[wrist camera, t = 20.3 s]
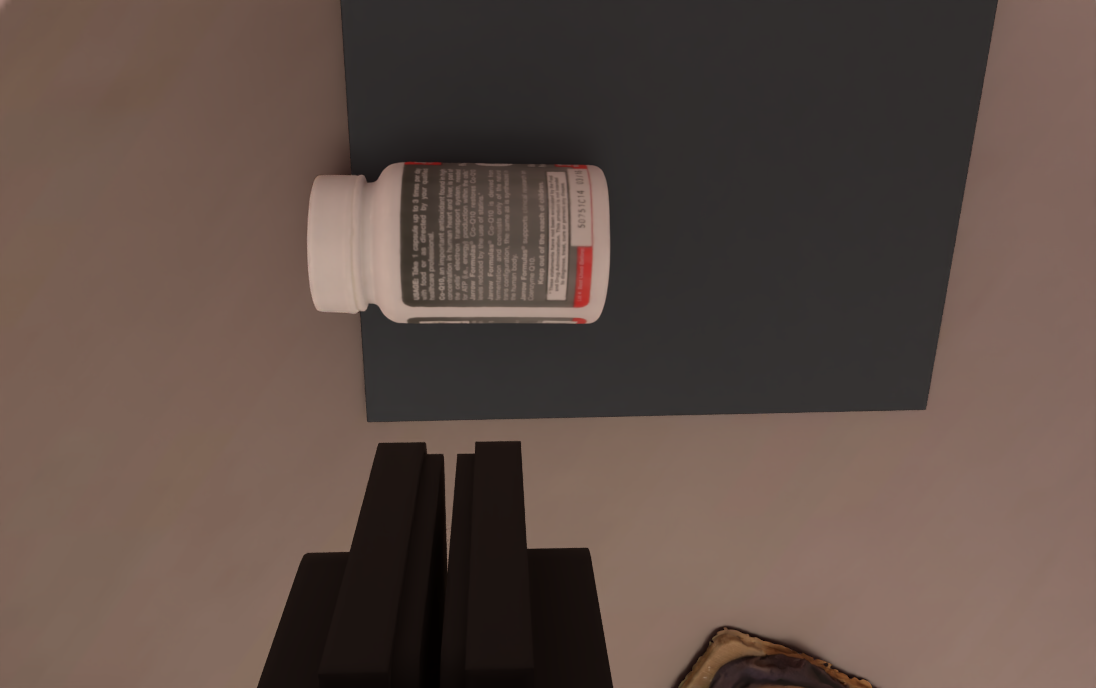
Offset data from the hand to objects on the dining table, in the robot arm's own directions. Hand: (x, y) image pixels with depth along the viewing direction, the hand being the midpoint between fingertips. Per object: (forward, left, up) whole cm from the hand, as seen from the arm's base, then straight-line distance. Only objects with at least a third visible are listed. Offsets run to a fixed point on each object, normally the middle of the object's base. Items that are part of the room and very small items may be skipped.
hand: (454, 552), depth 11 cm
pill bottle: (-4, +1, -17) cm, 18 cm away
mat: (-7, 0, -20) cm, 21 cm away
